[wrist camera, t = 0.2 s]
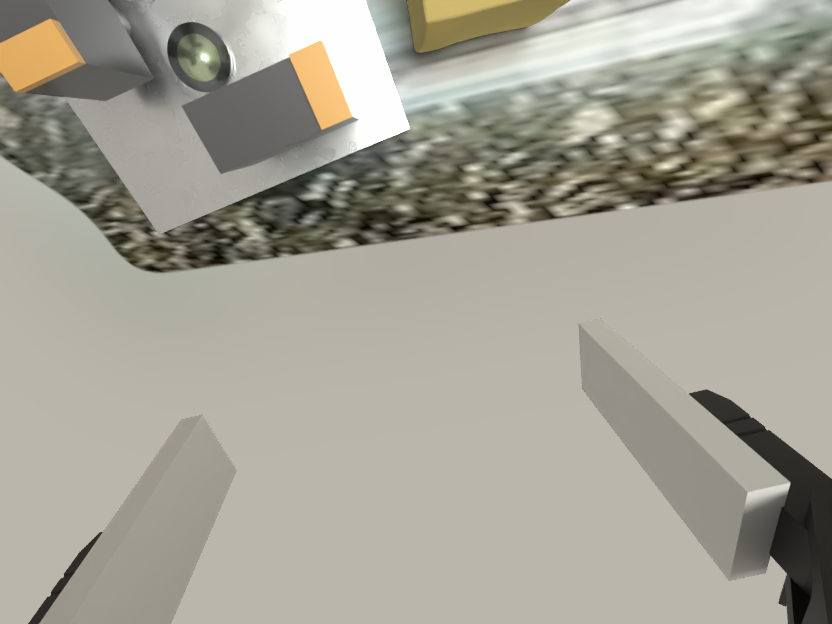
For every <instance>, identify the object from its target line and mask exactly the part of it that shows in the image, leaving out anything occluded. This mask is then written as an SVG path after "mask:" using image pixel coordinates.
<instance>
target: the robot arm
mask: <svg viewBox="0 0 832 624" xmlns="http://www.w3.org/2000/svg"><path fill="white" fill-rule="evenodd" d="M579 341H580V360H581V378H582V389H583V390H584V392H585V393H586V395H587V396H588V397H589V398H590V400H591V401H592V402H593V404H594V405H595V406H596V408H597V409H598V410H599V412H600V413H601V414H602V416H603V417H604V418H605V419H606V421H607V422H608V423H609V425H610V426H611V427H612V429H613V430H614V431H615V433H616V434H617V435H618V436H619V437H620V439H621V440H622V442H623V443H624V444H625V446H626V447H627V448H628V450H629V451H630V452H631V453H632V455H633V456H634V457H635V458H636V460H637V461H638V462H639V464H640V465H641V467H642V468H643V469H644V470H645V472H646V473H647V474H648V476H649V477H650V478H651V479H652V481H653V482H654V483H655V485H656V486H657V487H658V489H659V490H660V491H661V493H662V494H663V495H664V497H665V498H666V499H667V500H668V501H669V503H670V504H671V506H672V507H673V508H674V510H675V511H676V512H677V514H678V515H679V516H680V517H681V519H682V520H683V521H684V523H685V524H686V525H687V527H688V528H689V529H690V530H691V532H692V533H693V534H694V536H695V537H696V538H697V540H698V541H699V542H700V544H701V545H702V546H703V548H704V549H705V550H706V551H707V553H708V554H709V555H710V556H711V558H712V559H713V561H714V562H715V563H716V564H717V566H718V567H719V568H720V570H721V571H722V572H723V574H724V575H725V576H726V578H727V579H728V580H729V581H731V580H736V579H741V578H745V577H750V576H754V575H759V574H763V573H766V570H767V567H768V563H769V559H770V556H772V557H773V558H774V560H775V561H776V562H777V563H778V564H779V565H780V566H781V567H782V568H783V569H784V571H785V572H786V573H787V576H786V579H785V582H784V585H783V589H782V592H781V595H780V599H779V604H781V605H783V606H786V604H787V614H788V624H832V479H831V478H830V477H828V476H827V475H826V474H825V473H823V472H822V471H821V470H819V469H818V468H817V467H815V466H814V465H813V464H812V463H810V462H809V461H808V460H807V459H805V458H804V457H803V456H802V455H800V454H799V453H798V452H796V451H795V450H794V449H793V448H791V447H790V446H789V445H787V444H786V443H785V442H784V441H782V440H781V439H780V438H779V437H777V436H776V435H775V434H773V433H772V432H771V431H769V430H768V431H767V430H766V429H765V427H764V426H763V425H762V424H761V423H759V422H758V421H757V420H755V419H754V418H751V417H750V416H749V414H748V413H746V412H745V411H744V410H742V409H741V408H740V407H739V406H738V405H736V404H735V403H734V402H732V401H731V400H729V399H727V398H725V397H723V396H720V395H718V394H716V393H713V392H711V391H709V390H702V391H698V392H693V393H689V394H688V393H687V392H686V391H684V390H683V389H682V388H681V387H680V386H679V385H678V384H676V383H675V382H674V381H673V380H672V379H671V378H670V377H668V376H667V375H666V374H665V373H664V372H663V371H661V370H660V369H659V368H658V367H657V366H656V365H655V364H653V363H652V362H651V361H650V360H649V359H648V358H646V357H645V356H644V355H643V354H642V353H641V352H640V351H638V350H637V349H636V348H635V347H634V346H633V345H631V344H630V343H629V342H628V341H627V340H626V339H625V338H623V337H622V336H621V335H620V334H619V333H617V331H615V330H614V329H613V328H612V327H611V326H610V325H608V324H607V323H606V322H605V321H604V320H603V319H602V318H600V319H596V320H592V321H588V322H583V323H579ZM235 473H236V468H235V467H234V465H233V464H232V462H231V460H230V459H229V457H228V455H227V454H226V452H225V451H224V449H223V447H222V446H221V444H220V443H219V441H218V439H217V438H216V436H215V434H214V433H213V431H212V429H211V428H210V426H209V425H208V423H207V421H206V420H205V418H204V416H203V415H199V416H195V417H190V418H186V419H182V420H181V421H180V422H179V424H178V425H177V426H176V428H175V429H174V431H173V432H172V434H171V435H170V436H169V438H168V439H167V441H166V442H165V444H164V445H163V447H162V448H161V449H160V451H159V452H158V454H157V455H156V457H155V458H154V459H153V461H152V462H151V464H150V465H149V467H148V468H147V470H146V471H145V472H144V474H143V475H142V477H141V478H140V480H139V481H138V483H137V484H136V485H135V487H134V488H133V490H132V491H131V492H130V494H129V495H128V497H127V498H126V500H125V501H124V503H123V504H122V505H121V507H120V508H119V510H118V511H117V513H116V514H115V516H114V517H113V518H112V520H111V521H110V523H109V524H108V526H107V527H106V529H105V530H104V531H103V532H100V533H99V534H98V535H97V536H96V537H95V538H94V539H93V540H92V541H91V542H90V543H89V544H88V545H87V546H86V547H85V548H84V549H83V550H82V551H81V552H80V553H79V554H78V555H77V557H76V558H75V559H74V561H73V562H72V564H71V565H70V566H69V568H68V569H67V571H66V572H65V573H64V578H61V579H60V580H59V582H58V583H57V585H56V586H55V587H54V589H53V590H52V592H51V596H50V597H47V598H46V600H45V601H44V603H43V604H42V605H41V607H40V608H39V610H38V611H37V612H36V614H35V615H34V617H33V618H32V619H31V621H30V622H29V623H28V624H171V622H172V620H173V618H174V615H175V613H176V611H177V608H178V606H179V604H180V601H181V599H182V597H183V594H184V592H185V590H186V587H187V585H188V583H189V581H190V578H191V576H192V574H193V571H194V569H195V566H196V564H197V562H198V560H199V557H200V555H201V553H202V550H203V548H204V546H205V543H206V541H207V539H208V536H209V534H210V531H211V529H212V527H213V525H214V522H215V520H216V518H217V515H218V513H219V511H220V508H221V506H222V504H223V501H224V499H225V497H226V494H227V492H228V490H229V487H230V485H231V483H232V480H233V478H234V476H235Z"/></svg>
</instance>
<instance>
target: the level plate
mask: <svg viewBox="0 0 832 624" xmlns="http://www.w3.org/2000/svg"><path fill="white" fill-rule="evenodd" d="M108 1H109V2H110V3H112V4H114V5H116V6H117V7H118V8H119V9H121V11H122V12H123V13H124V14H125V16H126V17H127V19H128V21H129V23H130V26H131V33H132V35H131V40H132V42H133V43H134V45H135V47H136V48H137V50H138V52H139V53H140V55H141V57H142V59H143V60H144V62H145V64H146V65H147V67H148V69H149V71H150V72H151V74H152V76H153V77H154V79H153V80H150V81H148V82H146V83H144V84H142V85H140V86H138V87H135V88H133V89H131V90H129V91H127V92H125V93H122V94H120V95H118V96H116V97H114V98H112V99H109V100H107V101H99V100H90V99H80V98H70V97H65V99H66V100H67V102H68V103H69V105H70V106H71V108H72V109H73V110H74V112H75V113H76V115H77V116H78V118H79V119H80V121H81V122H82V123H83V125H84V126H85V128H86V129H87V131H88V132H89V134H90V135H91V137H92V138H93V139H94V141H95V142H96V144H97V145H98V147H99V148H100V150H101V151H102V152H103V154H104V155H105V157H106V158H107V160H108V161H109V163H110V164H111V165H112V167H113V168H114V170H115V171H116V173H117V174H118V176H119V177H120V179H121V180H122V181H123V183H124V184H125V186H126V187H127V189H128V190H129V192H130V193H131V194H132V196H133V197H134V199H135V200H136V202H137V203H138V205H139V206H140V208H141V209H142V210H143V212H144V213H145V215H146V216H147V218H148V219H149V221H150V222H151V223H152V225H153V226H154V228H155V229H156V231H157V232H158V234H161V233H164V232H166V231H168V230H171V229H173V228H175V227H178V226H180V225H183V224H185V223H187V222H190V221H192V220H194V219H197V218H199V217H202V216H204V215H206V214H209V213H211V212H213V211H216V210H218V209H221V208H223V207H225V206H228V205H230V204H232V203H235V202H237V201H240V200H242V199H244V198H247V197H249V196H251V195H254V194H256V193H259V192H261V191H263V190H266V189H268V188H270V187H273V186H275V185H278V184H280V183H282V182H285V181H287V180H289V179H292V178H294V177H297V176H299V175H301V174H304V173H306V172H308V171H311V170H313V169H315V168H318V167H320V166H323V165H325V164H327V163H330V162H332V161H334V160H337V159H339V158H342V157H344V156H346V155H349V154H351V153H353V152H356V151H358V150H361V149H363V148H365V147H368V146H370V145H372V144H375V143H377V142H380V141H382V140H384V139H387V138H389V137H391V136H394V135H396V134H399V133H401V132H403V131H406V130H408V129H410V128H409V125H408V122H407V119H406V116H405V113H404V111H403V108H402V105H401V102H400V99H399V96H398V93H397V91H396V88H395V85H394V82H393V79H392V76H391V73H390V70H389V68H388V65H387V62H386V59H385V56H384V53H383V50H382V47H381V45H380V42H379V39H378V36H377V33H376V30H375V27H374V24H373V22H372V19H371V16H370V13H369V10H368V7H367V4H366V2H365V0H108ZM320 40H322V41H323V42H324V44H325V45H326V47H327V48H328V50H329V51H330V53H331V54H332V55H333V57H334V58H335V60H336V61H337V63H338V66H339V69H340V71H341V74H342V76H343V79H344V81H345V84H346V86H347V89H348V91H349V94H350V96H351V99H352V101H353V104H354V106H355V109H356V111H357V114H358V116H359V119H360V120H358V121H355V122H353V123H351V124H348V125H346V126H344V127H341V128H339V129H337V130H334V131H332V132H330V133H327V134H325V135H323V136H320V137H318V138H316V139H313V140H311V141H309V142H306V143H304V144H302V145H299V146H297V147H295V148H292V149H290V150H288V151H285V152H283V153H281V154H278V155H276V156H274V157H271V158H269V159H267V160H264V161H262V162H260V163H257V164H255V165H252V166H248V167H244V168H241V169H237V170H234V171H230V172H226V173H223V174H220V172H219V171H218V169H217V167H216V165H215V164H214V162H213V160H212V158H211V157H210V155H209V153H208V151H207V150H206V148H205V146H204V145H203V143H202V141H201V139H200V138H199V136H198V134H197V132H196V131H195V129H194V127H193V125H192V124H191V122H190V120H189V118H188V117H187V115H186V113H185V112H184V110H183V108H182V105H184V104H187V103H189V102H191V101H193V100H195V99H198V98H200V97H202V96H204V95H207V94H209V93H211V92H213V91H215V90H218V89H220V88H222V87H224V86H226V85H229V84H231V83H233V82H235V81H238V80H240V79H242V78H244V77H246V76H249V75H251V74H253V73H255V72H257V71H260V70H262V69H264V68H266V67H269V66H271V65H273V64H275V63H277V62H280V61H282V60H284V59H286V58H288V57H289V54H291V53H293V52H295V51H297V50H300V49H302V48H304V47H306V46H309V45H311V44H313V43H315V42H317V41H320Z"/></svg>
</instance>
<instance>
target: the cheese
mask: <svg viewBox="0 0 832 624" xmlns="http://www.w3.org/2000/svg"><path fill="white" fill-rule="evenodd" d="M569 1H570V0H407V5H408V11H409V17H410V23H411V30H412V37H413V44H414V50H415V51H416V52H419V53H422V52H428V51H433V50H437V49H440V48H444V47H446V46H449V45H451V44H454V43H457V42H461V41H464V40H468V39H472V38H475V37H479V36H483V35H488V34H493V33H498V32H503V31H508V30H514V29H519V28H525V27H528V26H531V25H534V24H536V23H538V22H540V21H541V20H543V19H545V18H546V17H547V16H549V15H550V14H552V13H553V12H554V11H555V10H557V9H558V8H559V7H561V6H563V5H564V4H566V3H567V2H569Z"/></svg>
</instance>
